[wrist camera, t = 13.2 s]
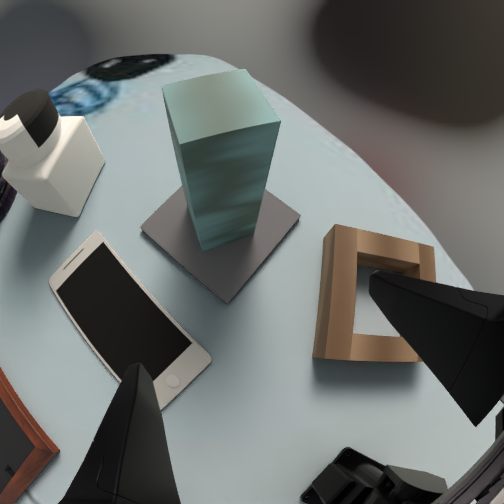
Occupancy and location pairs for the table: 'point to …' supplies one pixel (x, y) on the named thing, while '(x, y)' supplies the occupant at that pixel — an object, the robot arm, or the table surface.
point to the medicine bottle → (48, 154)
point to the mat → (225, 256)
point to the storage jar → (5, 190)
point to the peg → (222, 151)
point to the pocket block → (344, 292)
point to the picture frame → (19, 445)
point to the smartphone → (125, 319)
